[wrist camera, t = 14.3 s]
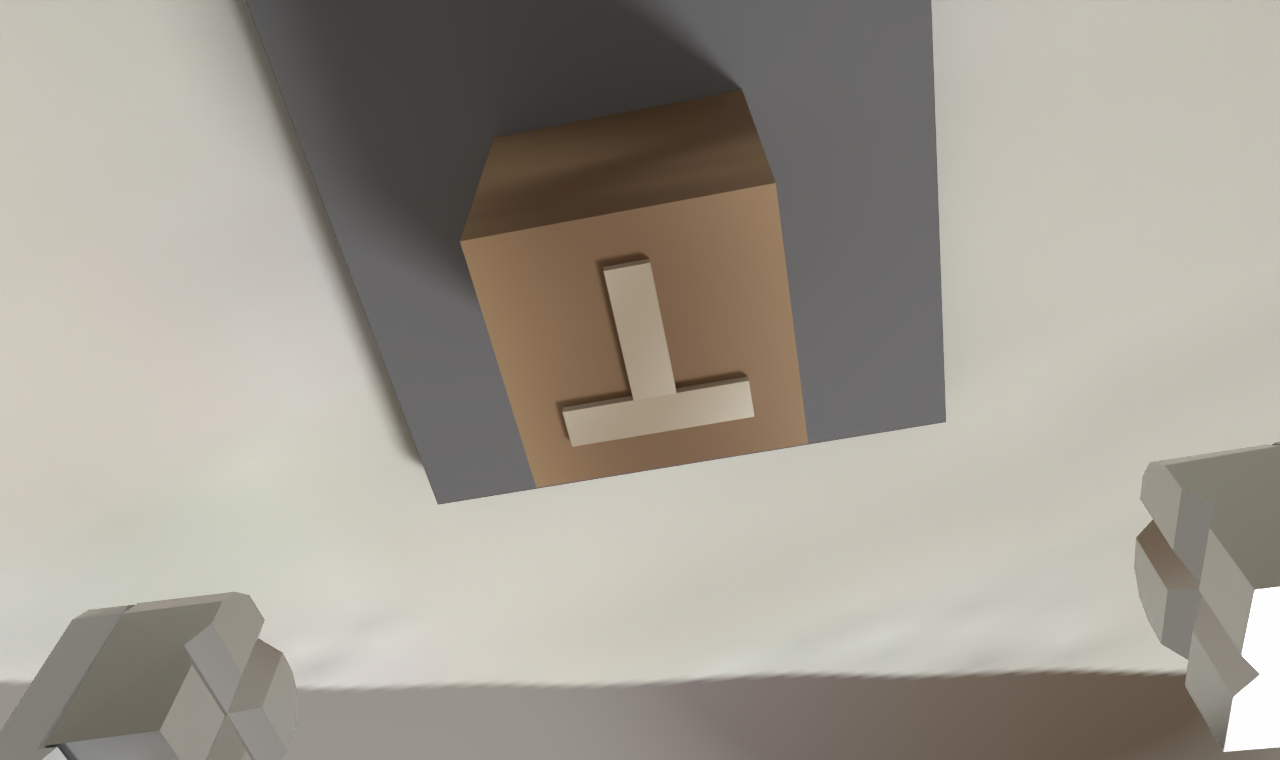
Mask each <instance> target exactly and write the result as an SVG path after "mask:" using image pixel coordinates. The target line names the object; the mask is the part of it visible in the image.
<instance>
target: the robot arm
mask: <svg viewBox="0 0 1280 760" xmlns="http://www.w3.org/2000/svg"><path fill="white" fill-rule="evenodd" d="M1140 499H1141V501H1142V503H1143V504H1144V506H1145V507H1146V509H1147V510H1148V512H1149V514H1150V515H1151V517H1152V518H1153V520H1152V521H1151V522H1150V523H1149V524H1148V526H1147V527H1146V528H1145V529H1144V530H1143V531H1142V532H1141V533H1140V534H1139V535H1138V536H1137V537H1136V547H1135V564H1134V568H1135V574H1136V580H1137V585H1138V591H1139V597H1140V600H1141V602H1142V605H1143V608H1144V610H1145V613H1146V615H1147V618H1148V621H1149V622H1150V624H1151V626H1152V628H1153V630H1154V632H1155V633H1156V635H1157V637H1158V639H1159V641H1160V643H1161V644H1163V645H1164V646H1166V647H1168V648H1169V649H1171V650H1173V651H1174V652H1176V653H1178V654H1179V655H1181V656H1183V657H1184V658H1186V659H1188V667H1187V674H1186V681H1185V686H1186V688H1187V690H1188V692H1189V693H1190V695H1191V697H1192V698H1193V700H1194V702H1195V704H1196V705H1197V707H1198V709H1199V710H1200V712H1201V714H1202V716H1203V717H1204V719H1205V721H1206V722H1207V724H1208V726H1209V728H1210V729H1211V731H1212V733H1213V735H1214V736H1215V738H1216V739H1217V742H1218V743H1219V745H1220V747H1221V748H1222V750H1223V752H1226V751H1238V750H1249V749H1261V748H1272V747H1280V442H1275V443H1274V444H1272V445H1262V446H1256V447H1249V448H1242V449H1235V450H1229V451H1222V452H1215V453H1209V454H1202V455H1195V456H1188V457H1182V458H1175V459H1168V460H1161V461H1155V462H1150V463H1149V465H1148V467H1147V469H1146V471H1145V473H1144V475H1143V480H1142V488H1141V496H1140ZM263 623H264V618H263V617H262V615H261V613H260V612H259V610H258V608H257V607H256V605H255V603H254V602H253V600H252V599H251V597H250V595H246V594H242V593H237V592H230V593H221V594H213V595H204V596H196V597H187V598H178V599H170V600H161V601H153V602H144V603H138V604H136V605H128V606H119V607H110V608H102V609H93V610H88V611H86V612H85V613H83V614H81V615H80V616H78V617H76V618H75V619H73V620H72V621H71V623H70V624H69V626H68V627H67V629H66V630H65V632H64V634H63V635H62V637H61V638H60V640H59V641H58V643H57V644H56V646H55V647H54V649H53V651H52V652H51V654H50V655H49V657H48V658H47V660H46V661H45V663H44V664H43V666H42V668H41V669H40V671H39V672H38V674H37V675H36V677H35V678H34V680H33V681H32V683H31V685H30V686H29V688H28V689H27V691H26V692H25V694H24V696H23V697H22V698H21V700H20V702H19V703H18V705H17V706H16V708H15V709H14V711H13V712H12V714H11V716H10V717H9V719H8V720H7V722H6V723H5V725H4V726H3V728H2V730H1V731H0V760H280V759H281V758H282V757H283V756H284V755H285V754H286V753H287V752H288V750H289V746H290V743H291V740H292V737H293V734H294V731H295V728H296V722H297V697H298V693H297V689H296V685H295V681H294V677H293V673H292V670H291V668H290V666H289V664H288V662H287V660H286V658H285V656H284V655H283V653H282V652H280V651H279V650H277V649H275V648H274V647H272V646H270V645H269V644H267V643H265V642H263V641H262V640H260V639H258V637H259V635H260V632H261V629H262V626H263Z"/></svg>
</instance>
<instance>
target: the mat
mask: <svg viewBox="0 0 1280 760" xmlns="http://www.w3.org/2000/svg"><path fill="white" fill-rule="evenodd" d="M246 2H247V5H248V7H249V10H250V12H251V15H252V18H253V20H254V23H255V26H256V28H257V31H258V33H259V36H260V39H261V41H262V44H263V47H264V49H265V52H266V54H267V57H268V60H269V62H270V65H271V68H272V70H273V73H274V75H275V78H276V81H277V83H278V86H279V89H280V91H281V94H282V96H283V99H284V102H285V104H286V107H287V110H288V112H289V115H290V117H291V120H292V123H293V125H294V128H295V131H296V133H297V136H298V138H299V141H300V144H301V146H302V149H303V152H304V154H305V157H306V159H307V162H308V165H309V167H310V170H311V173H312V175H313V178H314V180H315V183H316V186H317V188H318V191H319V194H320V196H321V199H322V201H323V204H324V207H325V209H326V212H327V215H328V217H329V220H330V222H331V225H332V228H333V230H334V233H335V236H336V238H337V241H338V243H339V246H340V249H341V251H342V254H343V257H344V259H345V262H346V264H347V267H348V270H349V272H350V275H351V278H352V280H353V283H354V285H355V288H356V291H357V293H358V296H359V299H360V301H361V304H362V306H363V309H364V312H365V314H366V317H367V320H368V322H369V325H370V327H371V330H372V333H373V335H374V338H375V341H376V343H377V346H378V348H379V351H380V354H381V356H382V359H383V362H384V364H385V367H386V369H387V372H388V375H389V377H390V380H391V383H392V385H393V388H394V390H395V393H396V396H397V398H398V401H399V404H400V406H401V409H402V411H403V414H404V417H405V419H406V422H407V425H408V427H409V430H410V432H411V435H412V438H413V440H414V443H415V446H416V448H417V451H418V453H419V456H420V459H421V461H422V464H423V467H424V469H425V472H426V474H427V477H428V480H429V482H430V485H431V488H432V490H433V493H434V495H435V498H436V501H437V503H438V504H445V503H451V502H457V501H463V500H469V499H475V498H481V497H488V496H494V495H500V494H506V493H512V492H518V491H524V490H531V489H537V488H536V485H535V481H534V478H533V475H532V472H531V469H530V465H529V462H528V459H527V456H526V452H525V449H524V446H523V443H522V440H521V436H520V433H519V430H518V427H517V423H516V420H515V417H514V414H513V411H512V407H511V404H510V401H509V398H508V394H507V391H506V388H505V385H504V382H503V378H502V375H501V372H500V369H499V365H498V362H497V359H496V356H495V353H494V349H493V346H492V343H491V340H490V336H489V333H488V330H487V327H486V324H485V320H484V317H483V314H482V311H481V307H480V304H479V301H478V298H477V295H476V291H475V288H474V285H473V282H472V279H471V275H470V272H469V269H468V266H467V262H466V259H465V256H464V253H463V250H462V246H461V243H460V240H461V237H462V234H463V231H464V228H465V224H466V221H467V218H468V215H469V212H470V209H471V206H472V203H473V200H474V197H475V194H476V191H477V188H478V185H479V181H480V178H481V175H482V172H483V169H484V166H485V163H486V160H487V157H488V154H489V151H490V148H491V145H492V142H493V138H495V137H500V136H505V135H510V134H515V133H521V132H526V131H531V130H536V129H541V128H546V127H552V126H557V125H562V124H567V123H572V122H577V121H583V120H588V119H593V118H598V117H603V116H608V115H614V114H619V113H624V112H629V111H634V110H639V109H645V108H650V107H655V106H660V105H665V104H670V103H676V102H681V101H686V100H691V99H696V98H701V97H707V96H712V95H717V94H722V93H727V92H732V91H738V90H743V93H744V96H745V99H746V101H747V104H748V107H749V110H750V113H751V115H752V118H753V121H754V124H755V127H756V129H757V132H758V135H759V138H760V141H761V143H762V146H763V149H764V152H765V154H766V157H767V160H768V163H769V166H770V168H771V171H772V174H773V177H774V180H775V182H776V189H777V197H778V205H779V213H780V221H781V229H782V237H783V245H784V253H785V261H786V269H787V277H788V285H789V293H790V301H791V309H792V317H793V325H794V333H795V341H796V349H797V357H798V365H799V373H800V381H801V389H802V397H803V405H804V413H805V421H806V429H807V437H808V444H814V443H820V442H826V441H832V440H838V439H844V438H850V437H857V436H863V435H869V434H875V433H881V432H887V431H894V430H900V429H906V428H912V427H918V426H924V425H930V424H937V423H943V422H946V409H945V381H944V352H943V324H942V296H941V267H940V239H939V210H938V182H937V154H936V125H935V97H934V68H933V40H932V11H931V0H246ZM803 445H807V444H803ZM797 446H801V445H797ZM791 447H795V446H791ZM784 448H789V447H784ZM778 449H783V448H778ZM772 450H777V449H772ZM766 451H771V450H766ZM760 452H764V451H760ZM754 453H758V452H754ZM748 454H752V453H748ZM741 455H746V454H741ZM735 456H740V455H735ZM729 457H734V456H729ZM723 458H727V457H723ZM717 459H721V458H717ZM711 460H715V459H711ZM704 461H709V460H704ZM698 462H703V461H698ZM692 463H697V462H692ZM686 464H691V463H686ZM680 465H684V464H680ZM674 466H678V465H674ZM668 467H672V466H668ZM661 468H666V467H661ZM655 469H660V468H655ZM649 470H654V469H649ZM643 471H648V470H643ZM637 472H641V471H637ZM631 473H635V472H631ZM624 474H629V473H624ZM618 475H623V474H618ZM612 476H617V475H612ZM606 477H611V476H606ZM600 478H604V477H600ZM594 479H598V478H594ZM587 480H592V479H587ZM581 481H586V480H581ZM575 482H580V481H575ZM569 483H574V482H569ZM563 484H568V483H563ZM557 485H561V484H557ZM551 486H555V485H551ZM544 487H549V486H544ZM538 488H543V487H538Z"/></svg>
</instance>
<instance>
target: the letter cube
mask: <svg viewBox="0 0 1280 760" xmlns="http://www.w3.org/2000/svg"><path fill="white" fill-rule="evenodd" d="M460 243H461V246H462V250H463V253H464V256H465V259H466V262H467V266H468V269H469V272H470V275H471V279H472V282H473V285H474V288H475V291H476V295H477V298H478V301H479V304H480V307H481V311H482V314H483V317H484V320H485V324H486V327H487V330H488V333H489V336H490V340H491V343H492V346H493V349H494V353H495V356H496V359H497V362H498V365H499V369H500V372H501V375H502V378H503V382H504V385H505V388H506V391H507V394H508V398H509V401H510V404H511V407H512V411H513V414H514V417H515V420H516V423H517V427H518V430H519V433H520V436H521V440H522V443H523V446H524V449H525V452H526V456H527V459H528V462H529V465H530V469H531V472H532V475H533V478H534V481H535V485H536V488H538V487H544V486H551V485H557V484H563V483H569V482H575V481H581V480H587V479H594V478H600V477H606V476H612V475H618V474H624V473H631V472H637V471H643V470H649V469H655V468H661V467H668V466H674V465H680V464H686V463H692V462H698V461H704V460H711V459H717V458H723V457H729V456H735V455H741V454H748V453H754V452H760V451H766V450H772V449H778V448H784V447H791V446H797V445H803V444H808V437H807V429H806V421H805V413H804V405H803V397H802V389H801V381H800V373H799V365H798V357H797V349H796V341H795V333H794V325H793V317H792V309H791V301H790V293H789V285H788V277H787V269H786V261H785V253H784V245H783V237H782V229H781V221H780V213H779V205H778V197H777V189H776V182H775V180H774V177H773V174H772V171H771V168H770V166H769V163H768V160H767V157H766V154H765V152H764V149H763V146H762V143H761V141H760V138H759V135H758V132H757V129H756V127H755V124H754V121H753V118H752V115H751V113H750V110H749V107H748V104H747V101H746V99H745V96H744V93H743V90H738V91H732V92H727V93H722V94H717V95H712V96H707V97H701V98H696V99H691V100H686V101H681V102H676V103H670V104H665V105H660V106H655V107H650V108H645V109H639V110H634V111H629V112H624V113H619V114H614V115H608V116H603V117H598V118H593V119H588V120H583V121H577V122H572V123H567V124H562V125H557V126H552V127H546V128H541V129H536V130H531V131H526V132H521V133H515V134H510V135H505V136H500V137H495V138H493V142H492V145H491V148H490V151H489V154H488V157H487V160H486V163H485V166H484V169H483V172H482V175H481V178H480V181H479V185H478V188H477V191H476V194H475V197H474V200H473V203H472V206H471V209H470V212H469V215H468V218H467V221H466V224H465V228H464V231H463V234H462V237H461V240H460Z"/></svg>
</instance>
